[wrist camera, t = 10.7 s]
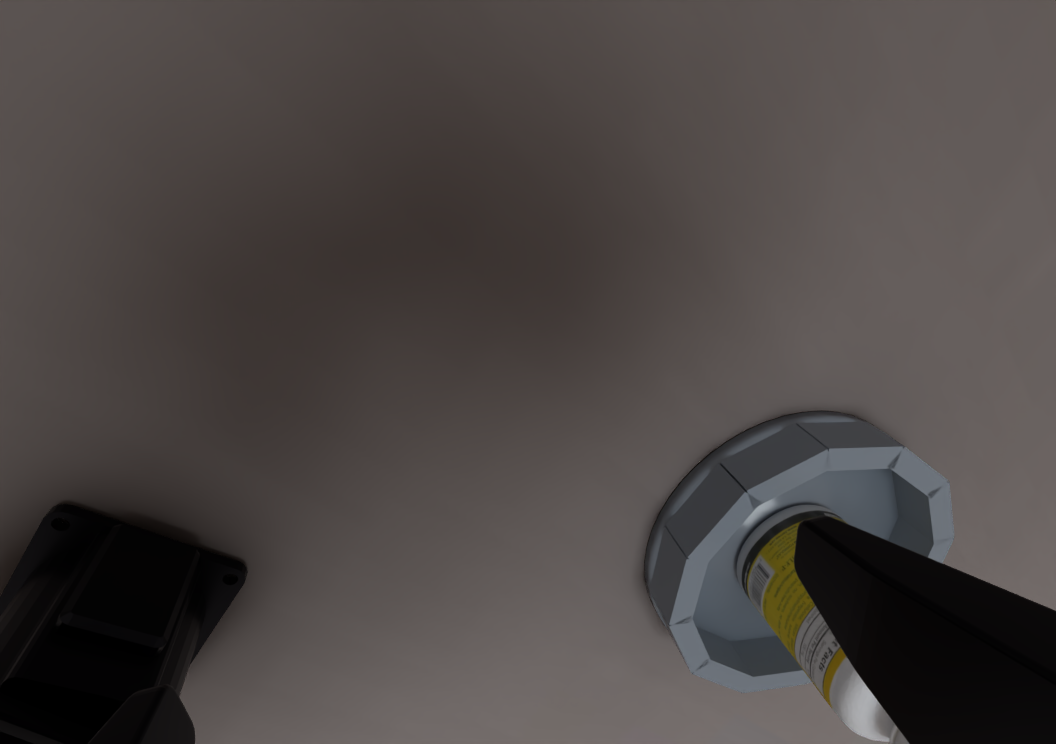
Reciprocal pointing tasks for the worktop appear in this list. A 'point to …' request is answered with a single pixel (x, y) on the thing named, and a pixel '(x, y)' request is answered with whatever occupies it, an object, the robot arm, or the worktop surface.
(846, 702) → the supplement bottle
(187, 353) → the worktop surface
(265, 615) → the worktop surface
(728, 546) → the round dish
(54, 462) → the worktop surface
